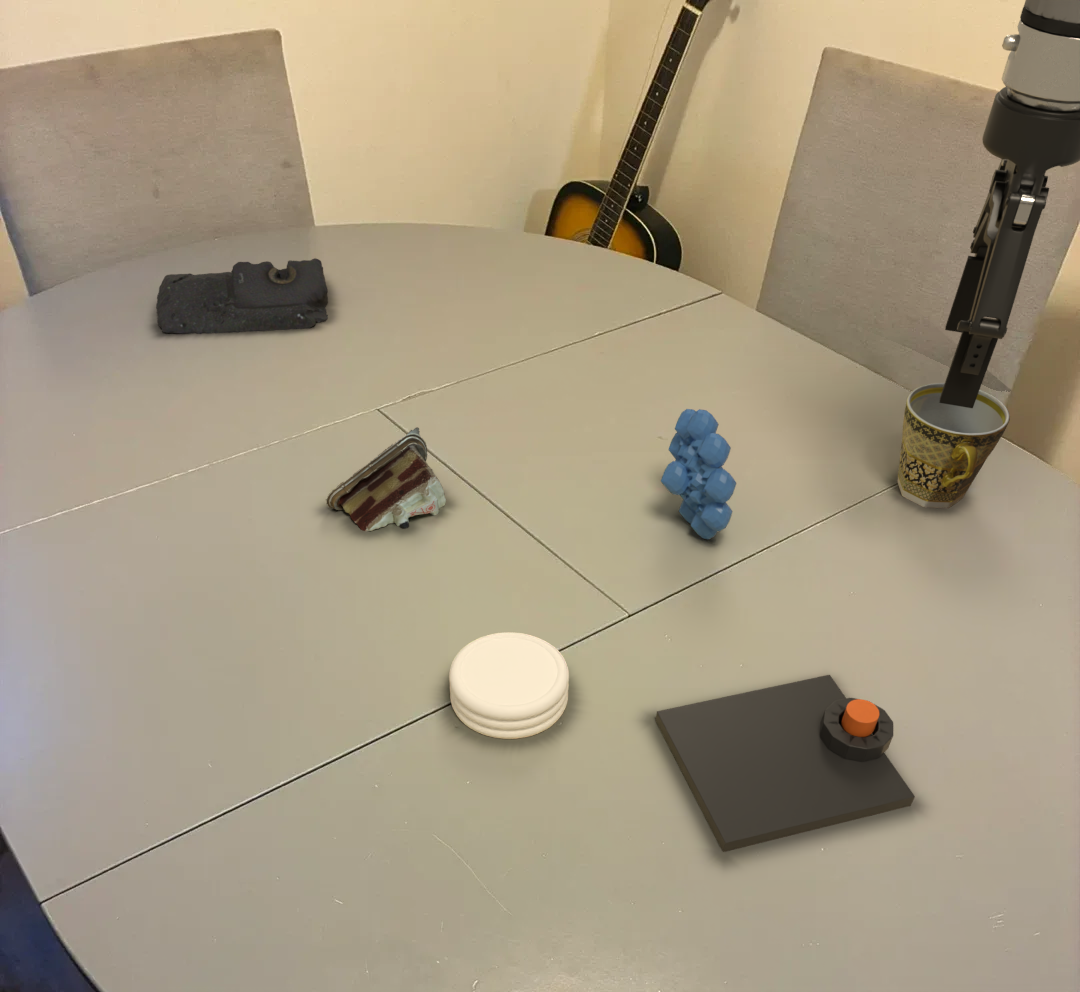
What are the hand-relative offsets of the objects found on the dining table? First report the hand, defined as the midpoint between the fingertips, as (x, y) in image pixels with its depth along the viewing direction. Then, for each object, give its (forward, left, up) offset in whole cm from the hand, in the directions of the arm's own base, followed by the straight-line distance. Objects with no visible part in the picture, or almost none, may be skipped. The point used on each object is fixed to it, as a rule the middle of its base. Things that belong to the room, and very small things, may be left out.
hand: (958, 365), depth 91 cm
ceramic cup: (-7, -5, -19) cm, 21 cm away
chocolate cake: (+48, -18, -19) cm, 55 cm away
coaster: (+44, +11, -19) cm, 49 cm away
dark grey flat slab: (+25, +24, -19) cm, 40 cm away
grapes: (+20, -8, -19) cm, 29 cm away
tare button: (+19, +24, -16) cm, 35 cm away
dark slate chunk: (+58, -68, -19) cm, 91 cm away
